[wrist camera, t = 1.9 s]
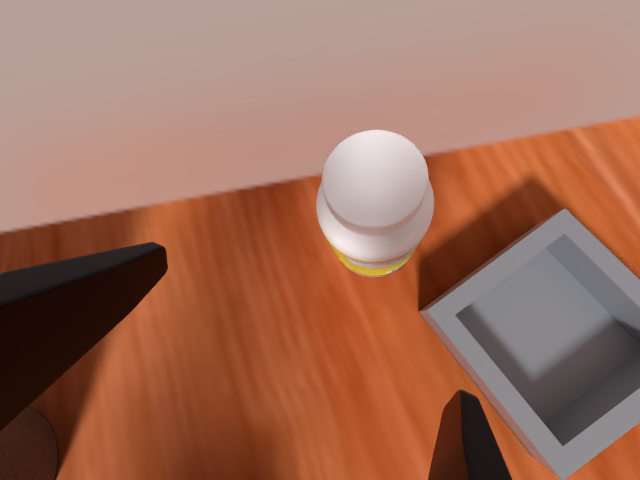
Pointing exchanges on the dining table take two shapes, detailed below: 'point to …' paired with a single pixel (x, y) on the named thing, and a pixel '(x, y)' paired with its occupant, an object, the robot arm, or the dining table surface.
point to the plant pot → (28, 448)
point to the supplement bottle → (375, 201)
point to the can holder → (550, 340)
